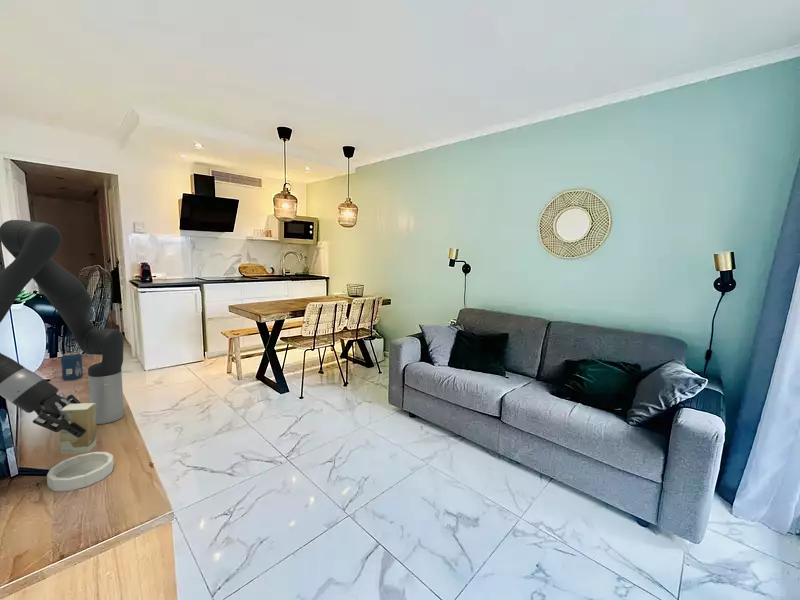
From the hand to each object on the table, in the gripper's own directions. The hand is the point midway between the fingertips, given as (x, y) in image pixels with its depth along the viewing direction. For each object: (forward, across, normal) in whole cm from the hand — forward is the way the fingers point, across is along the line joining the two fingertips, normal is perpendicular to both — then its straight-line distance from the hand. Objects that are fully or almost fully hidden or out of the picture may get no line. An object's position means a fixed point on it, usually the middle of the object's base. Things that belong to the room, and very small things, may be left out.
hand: (87, 429), depth 95 cm
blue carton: (-21, +86, +39) cm, 97 cm away
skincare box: (+3, 0, +5) cm, 6 cm away
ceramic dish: (+8, 0, +10) cm, 13 cm away
